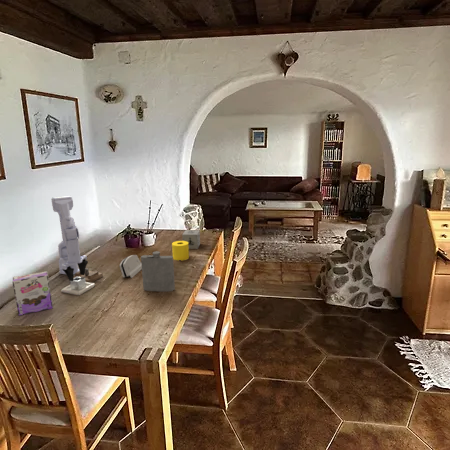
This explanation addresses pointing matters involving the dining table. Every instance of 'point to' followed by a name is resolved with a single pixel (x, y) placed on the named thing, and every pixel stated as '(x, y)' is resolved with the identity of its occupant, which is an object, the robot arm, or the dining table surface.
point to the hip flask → (157, 272)
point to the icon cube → (192, 238)
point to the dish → (68, 290)
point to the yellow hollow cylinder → (180, 250)
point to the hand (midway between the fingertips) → (77, 277)
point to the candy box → (32, 293)
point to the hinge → (130, 266)
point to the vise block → (89, 275)
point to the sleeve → (78, 283)
